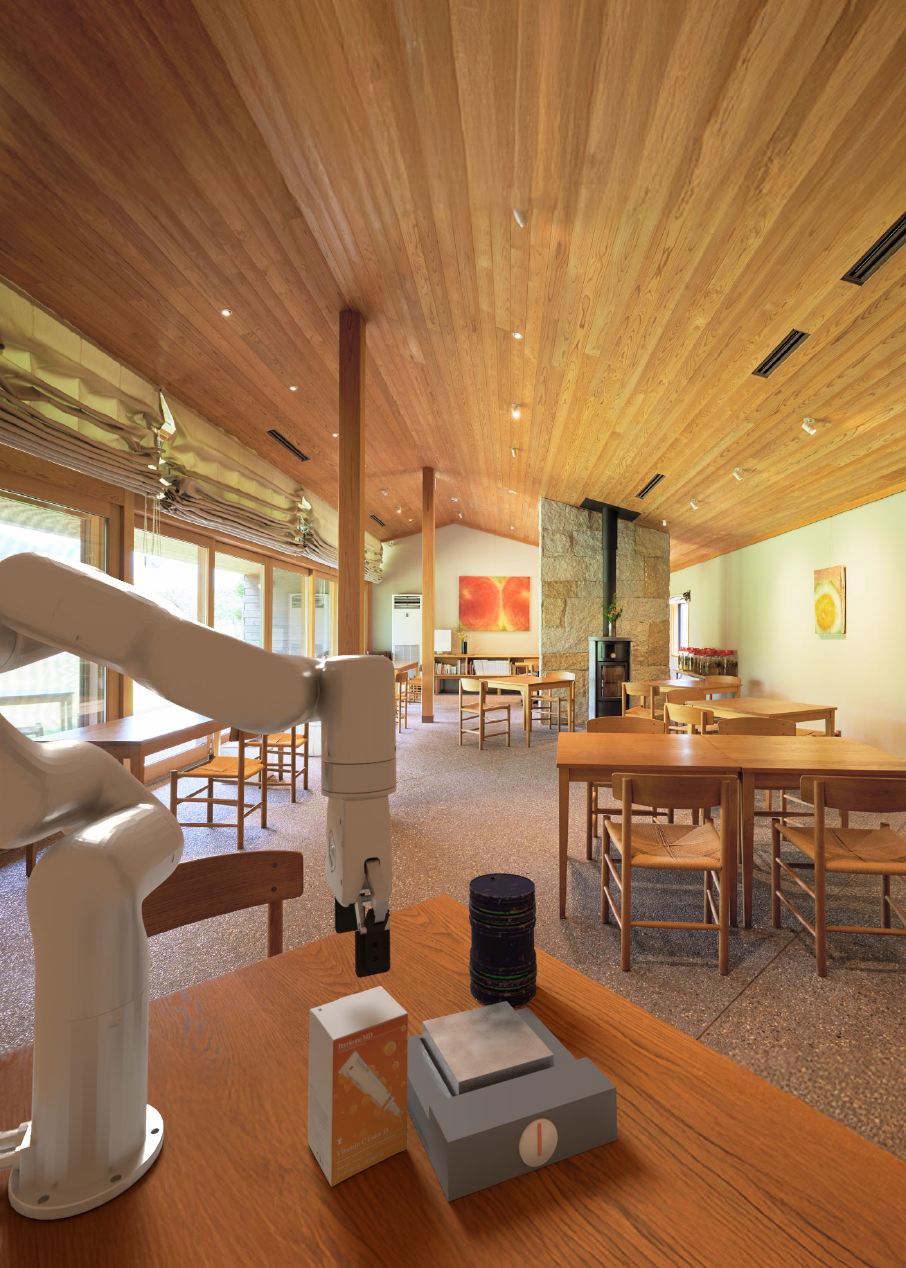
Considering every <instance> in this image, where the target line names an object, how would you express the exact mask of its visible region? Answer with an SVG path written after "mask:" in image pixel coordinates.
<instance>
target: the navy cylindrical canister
mask: <svg viewBox="0 0 906 1268" xmlns="http://www.w3.org/2000/svg"><path fill="white" fill-rule="evenodd" d="M468 887H469V890H468V891H469V894H468V895H469V900H468V912H469V915H468V921H469V925H470V933H471V934H470V937H471V939H470V940H471V941H470V944H471V946H470V949H469V963H468V970H469V971H468V972H469V974H470V975H469V978H470V979H469V980H470V985H469V990H470V994H471V996H472V995H473V996H472V997H473V998H474V999H475V1000H476V999H477V1000H476V1001H477V1002H479V1003H481V1004H482V1005H485V1006H488V1005H493V1004H497V1003H501V1002H505V1001H507V1002H508V1003H509V1004H510V1005H511V1007H512V1008H513V1009H514V1008H515V1009H516V1008H520V1007H522V1006H525V1005H524V1004H526V1005H527V1003H528V1004H529V1003H530V1001H531V1000H532V999H533V998H534V997H535V998H536V996H535V995H537V993H536V990H538V989H537V984H536V983H537V976H538V964H537V952H536V951H537V950H536V948H535V928H536V923H537V916H536V914H537V903H536V894H535V893H536V884H535V882H534V881H533V880H532V879H530V878H528V877H526V876H524V875H523V876H522V875H519V874H515V873H509V872H508V873H505V872H494V873H486V874H482V875H478V876H476V877H473V878H472V879H471V880H470V881H469V884H468ZM535 998H534V999H535ZM534 999H533V1000H534ZM533 1000H532V1001H533ZM532 1001H531V1002H532ZM519 1006H520V1007H519Z"/></svg>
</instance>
